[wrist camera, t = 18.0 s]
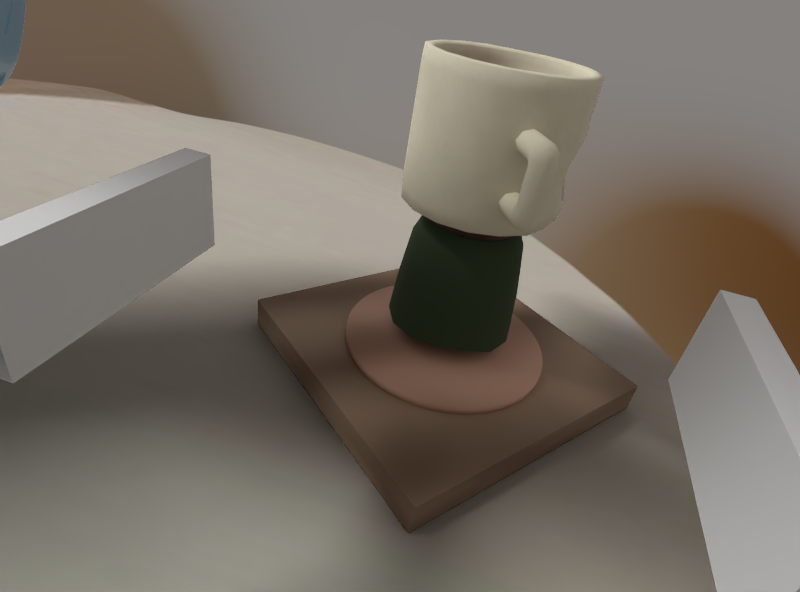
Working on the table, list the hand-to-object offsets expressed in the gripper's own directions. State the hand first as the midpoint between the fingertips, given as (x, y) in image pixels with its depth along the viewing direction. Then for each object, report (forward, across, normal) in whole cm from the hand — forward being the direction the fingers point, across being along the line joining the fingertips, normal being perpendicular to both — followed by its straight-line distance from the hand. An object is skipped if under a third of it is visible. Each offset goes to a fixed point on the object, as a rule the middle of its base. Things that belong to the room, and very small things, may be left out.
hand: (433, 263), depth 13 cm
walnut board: (+10, 0, -11) cm, 15 cm away
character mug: (+10, 0, -9) cm, 14 cm away
